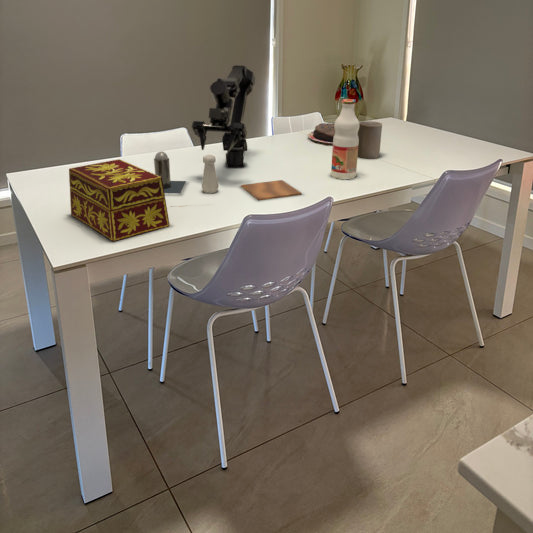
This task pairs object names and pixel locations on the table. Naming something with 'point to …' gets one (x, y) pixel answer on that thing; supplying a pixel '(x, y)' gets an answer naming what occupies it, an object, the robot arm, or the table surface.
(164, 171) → the pepper shaker
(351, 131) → the fruit juice
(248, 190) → the oak board
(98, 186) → the decorative box
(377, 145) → the pillar candle
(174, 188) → the slate mat
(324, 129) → the chocolate cake
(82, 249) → the table surface
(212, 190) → the salt shaker
